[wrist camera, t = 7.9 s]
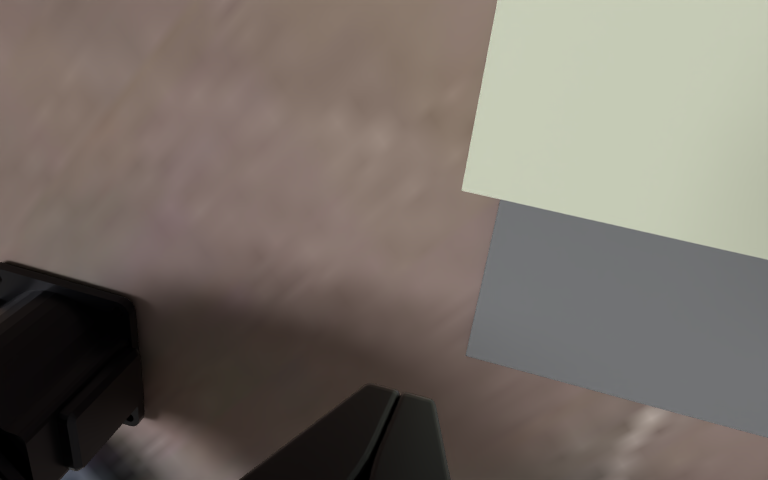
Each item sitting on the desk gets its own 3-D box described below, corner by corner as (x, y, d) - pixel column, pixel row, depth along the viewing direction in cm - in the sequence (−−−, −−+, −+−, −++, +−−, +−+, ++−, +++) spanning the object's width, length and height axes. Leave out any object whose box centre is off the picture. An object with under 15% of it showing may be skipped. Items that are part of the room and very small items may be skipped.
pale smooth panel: (461, 190, 17) (888, 287, 16) (554, -301, 12) (1200, -245, 11) (476, 157, 19) (856, 239, 18) (561, -277, 14) (1105, -226, 13)
